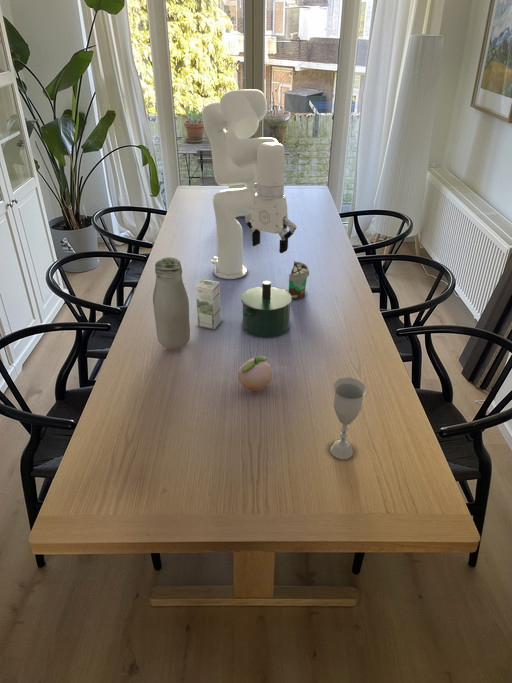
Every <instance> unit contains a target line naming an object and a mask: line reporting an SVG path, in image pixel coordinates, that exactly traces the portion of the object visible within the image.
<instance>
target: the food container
mask: <svg viewBox="0 0 512 683" xmlns="http://www.w3.org/2000/svg"><path fill="white" fill-rule="evenodd" d="M309 276H310V270H309V267H308V265H307V264H305V263H304V262H300V261H297V260H296V261H295V260H294V261H293V266H292V268H291V271H290V273H289V274H288V293H290V295H291V297H292V301H293V300H299V299H302V298H303V297H304V296H305V294H306V285H307V280H308V277H309Z"/></svg>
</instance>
